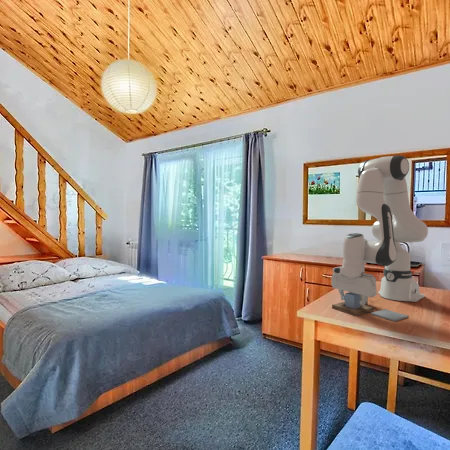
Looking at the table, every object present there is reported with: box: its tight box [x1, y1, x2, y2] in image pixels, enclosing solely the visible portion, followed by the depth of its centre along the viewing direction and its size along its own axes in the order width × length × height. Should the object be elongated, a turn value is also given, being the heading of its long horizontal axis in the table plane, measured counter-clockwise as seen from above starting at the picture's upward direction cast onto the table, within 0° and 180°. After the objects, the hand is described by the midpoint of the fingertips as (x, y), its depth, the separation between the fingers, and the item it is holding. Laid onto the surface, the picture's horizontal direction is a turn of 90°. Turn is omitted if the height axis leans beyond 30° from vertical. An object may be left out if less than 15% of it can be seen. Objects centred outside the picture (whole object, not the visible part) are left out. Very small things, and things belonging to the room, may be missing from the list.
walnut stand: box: [331, 301, 375, 317], centre depth 135 cm, size 12×12×2 cm
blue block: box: [344, 292, 361, 309], centre depth 135 cm, size 4×4×7 cm
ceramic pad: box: [370, 308, 409, 323], centre depth 127 cm, size 10×10×1 cm
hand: (352, 302), depth 135 cm, fingers open, 8 cm apart
